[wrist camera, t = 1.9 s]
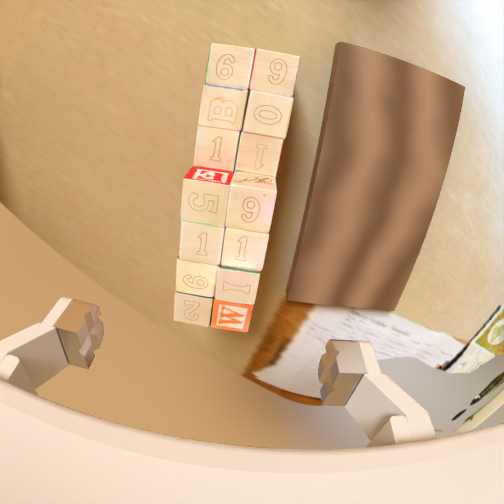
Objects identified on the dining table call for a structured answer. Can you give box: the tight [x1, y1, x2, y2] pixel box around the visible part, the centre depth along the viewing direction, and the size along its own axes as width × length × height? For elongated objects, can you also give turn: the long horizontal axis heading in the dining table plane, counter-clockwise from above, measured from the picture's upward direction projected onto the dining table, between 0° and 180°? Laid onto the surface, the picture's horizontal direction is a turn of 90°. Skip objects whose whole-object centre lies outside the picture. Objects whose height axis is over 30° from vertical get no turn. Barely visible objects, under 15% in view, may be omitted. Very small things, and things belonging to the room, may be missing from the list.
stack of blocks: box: [174, 43, 300, 332], centre depth 26 cm, size 21×6×12 cm, turn 170°
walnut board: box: [286, 42, 465, 311], centre depth 31 cm, size 14×28×2 cm, turn 172°
